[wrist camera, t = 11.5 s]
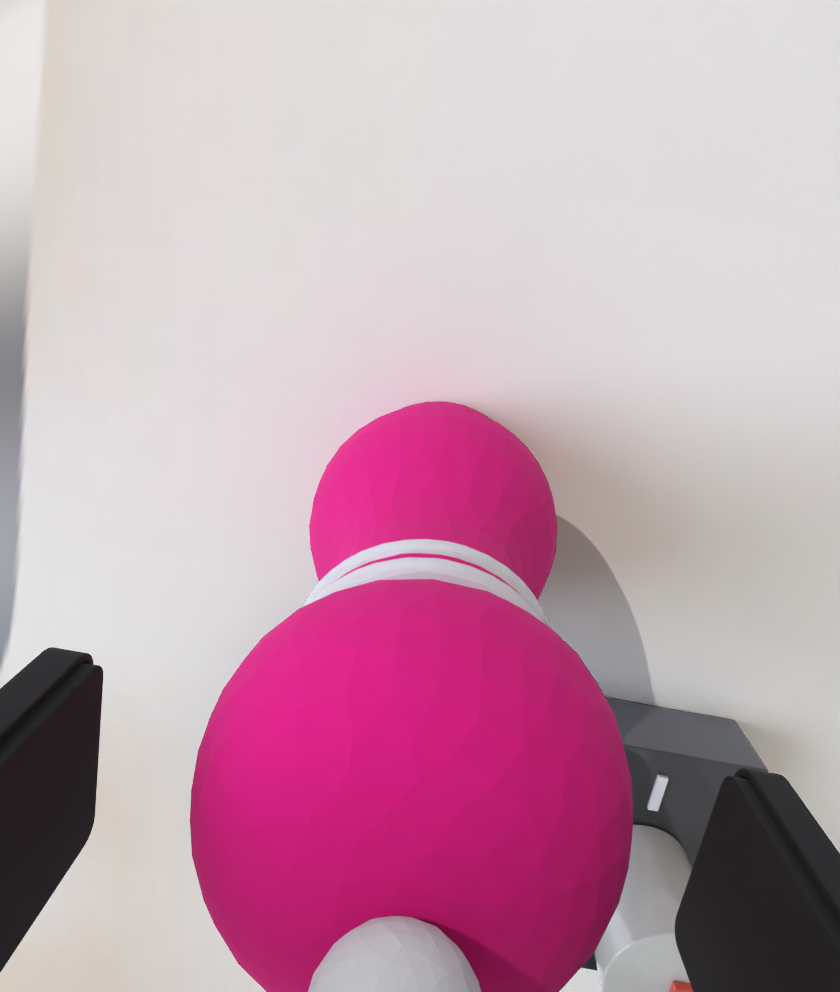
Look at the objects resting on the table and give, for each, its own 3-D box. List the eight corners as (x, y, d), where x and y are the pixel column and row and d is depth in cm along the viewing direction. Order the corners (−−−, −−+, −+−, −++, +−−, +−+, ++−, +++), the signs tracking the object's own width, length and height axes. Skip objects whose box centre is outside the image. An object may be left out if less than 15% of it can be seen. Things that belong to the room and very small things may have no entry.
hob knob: (565, 902, 26) (589, 1033, 22) (591, 814, 25) (623, 933, 21) (671, 921, 26) (717, 1055, 22) (702, 834, 25) (758, 956, 21)
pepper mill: (341, 376, 24) (-83, 708, 5) (552, 397, 24) (946, 818, 5) (329, 571, 26) (-3, 1339, 7) (523, 591, 26) (724, 1427, 7)
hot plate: (248, 846, 30) (225, 909, 27) (275, 637, 27) (253, 681, 24) (679, 922, 30) (704, 994, 27) (751, 722, 27) (788, 776, 24)
